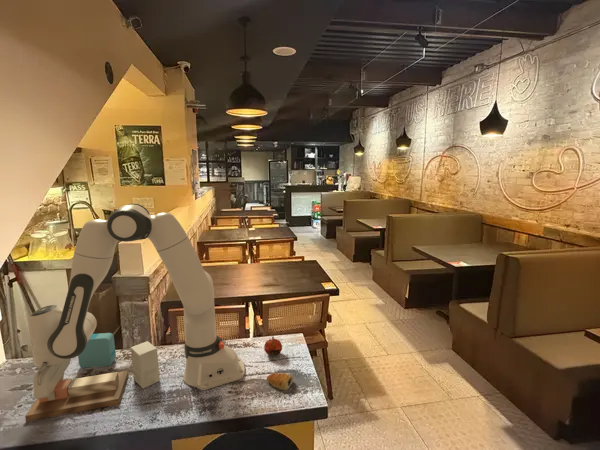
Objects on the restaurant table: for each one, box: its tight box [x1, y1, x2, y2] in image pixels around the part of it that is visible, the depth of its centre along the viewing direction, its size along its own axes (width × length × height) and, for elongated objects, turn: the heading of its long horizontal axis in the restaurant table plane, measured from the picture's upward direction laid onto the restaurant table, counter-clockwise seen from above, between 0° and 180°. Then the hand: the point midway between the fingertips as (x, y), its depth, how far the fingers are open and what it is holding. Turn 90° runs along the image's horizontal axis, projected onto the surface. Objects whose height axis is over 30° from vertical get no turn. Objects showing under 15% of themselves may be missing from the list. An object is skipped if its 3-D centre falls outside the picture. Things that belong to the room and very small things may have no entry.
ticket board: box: [24, 370, 129, 422], centre depth 115 cm, size 26×16×6 cm, turn 107°
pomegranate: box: [263, 335, 283, 361], centre depth 139 cm, size 7×7×10 cm
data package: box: [77, 332, 117, 369], centre depth 133 cm, size 12×4×12 cm, turn 97°
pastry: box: [266, 372, 294, 392], centre depth 121 cm, size 9×7×4 cm
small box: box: [130, 340, 161, 389], centre depth 123 cm, size 8×6×13 cm
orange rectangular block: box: [39, 378, 73, 403], centre depth 113 cm, size 8×5×4 cm, turn 107°
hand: (56, 392), depth 113 cm, fingers closed on orange rectangular block, 5 cm apart
